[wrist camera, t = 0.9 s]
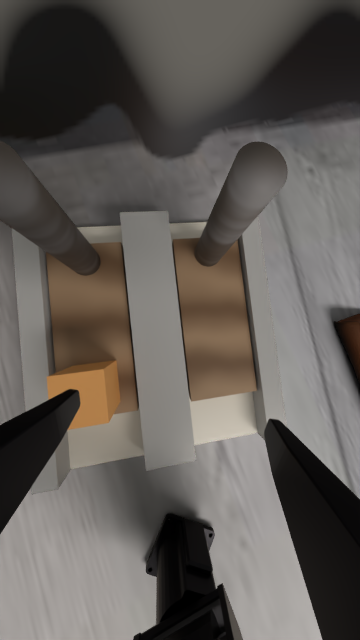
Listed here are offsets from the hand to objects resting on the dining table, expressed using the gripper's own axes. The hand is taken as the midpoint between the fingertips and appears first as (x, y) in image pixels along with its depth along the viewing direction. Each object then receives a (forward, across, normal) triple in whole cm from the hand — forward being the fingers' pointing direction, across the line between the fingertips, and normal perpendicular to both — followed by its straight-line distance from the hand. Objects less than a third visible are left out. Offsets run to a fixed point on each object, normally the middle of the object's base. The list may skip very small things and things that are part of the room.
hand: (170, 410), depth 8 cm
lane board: (+14, +3, +3) cm, 15 cm away
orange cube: (+8, +9, +7) cm, 14 cm away
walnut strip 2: (+15, -3, 0) cm, 16 cm away
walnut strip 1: (+12, +10, +2) cm, 16 cm away
